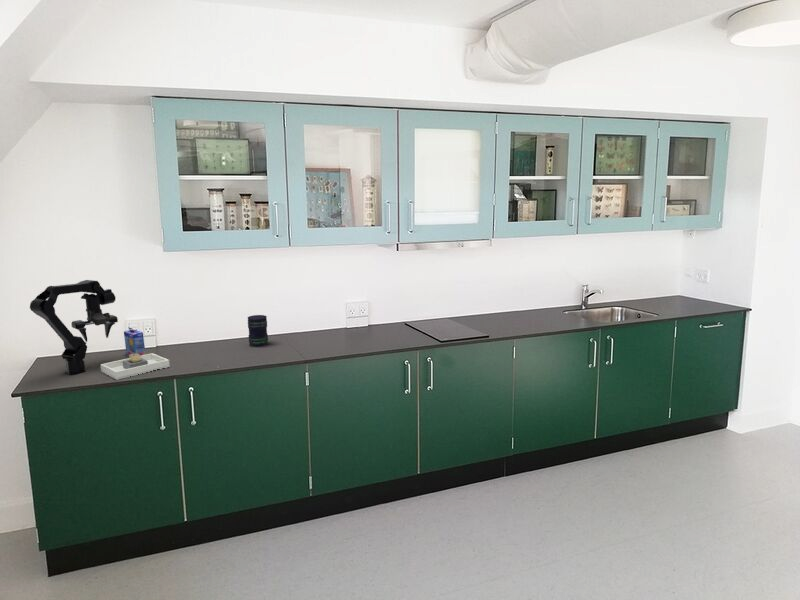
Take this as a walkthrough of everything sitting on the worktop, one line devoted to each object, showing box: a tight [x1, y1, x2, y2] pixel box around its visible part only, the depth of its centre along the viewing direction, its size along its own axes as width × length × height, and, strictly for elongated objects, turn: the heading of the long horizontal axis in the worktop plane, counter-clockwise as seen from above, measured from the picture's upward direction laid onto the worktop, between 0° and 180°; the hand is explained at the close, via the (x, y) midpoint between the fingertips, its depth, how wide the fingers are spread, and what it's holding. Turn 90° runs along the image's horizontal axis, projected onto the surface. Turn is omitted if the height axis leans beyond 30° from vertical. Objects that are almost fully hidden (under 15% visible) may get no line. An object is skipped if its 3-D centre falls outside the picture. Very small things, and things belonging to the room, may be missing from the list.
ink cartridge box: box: [123, 327, 147, 356], centre depth 297 cm, size 10×6×14 cm, turn 51°
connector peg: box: [128, 353, 141, 363], centre depth 275 cm, size 4×4×6 cm
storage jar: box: [247, 314, 269, 348], centre depth 315 cm, size 10×10×15 cm
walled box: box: [100, 352, 171, 381], centre depth 276 cm, size 24×17×4 cm
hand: (96, 339), depth 282 cm, fingers open, 9 cm apart
